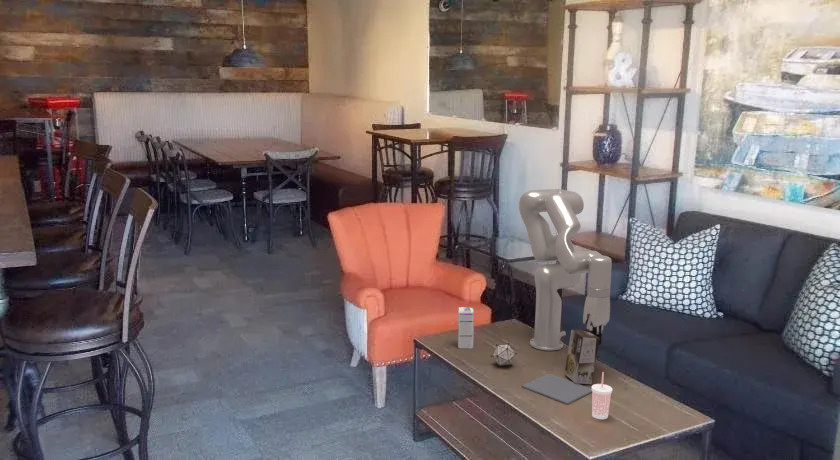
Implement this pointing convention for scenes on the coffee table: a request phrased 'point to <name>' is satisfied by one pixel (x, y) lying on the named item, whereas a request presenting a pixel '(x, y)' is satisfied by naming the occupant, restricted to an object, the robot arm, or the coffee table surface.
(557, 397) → the mat
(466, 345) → the syrup box
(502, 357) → the game die
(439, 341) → the coffee table surface
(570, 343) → the coffee box
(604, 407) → the beverage cup
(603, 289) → the robot arm
